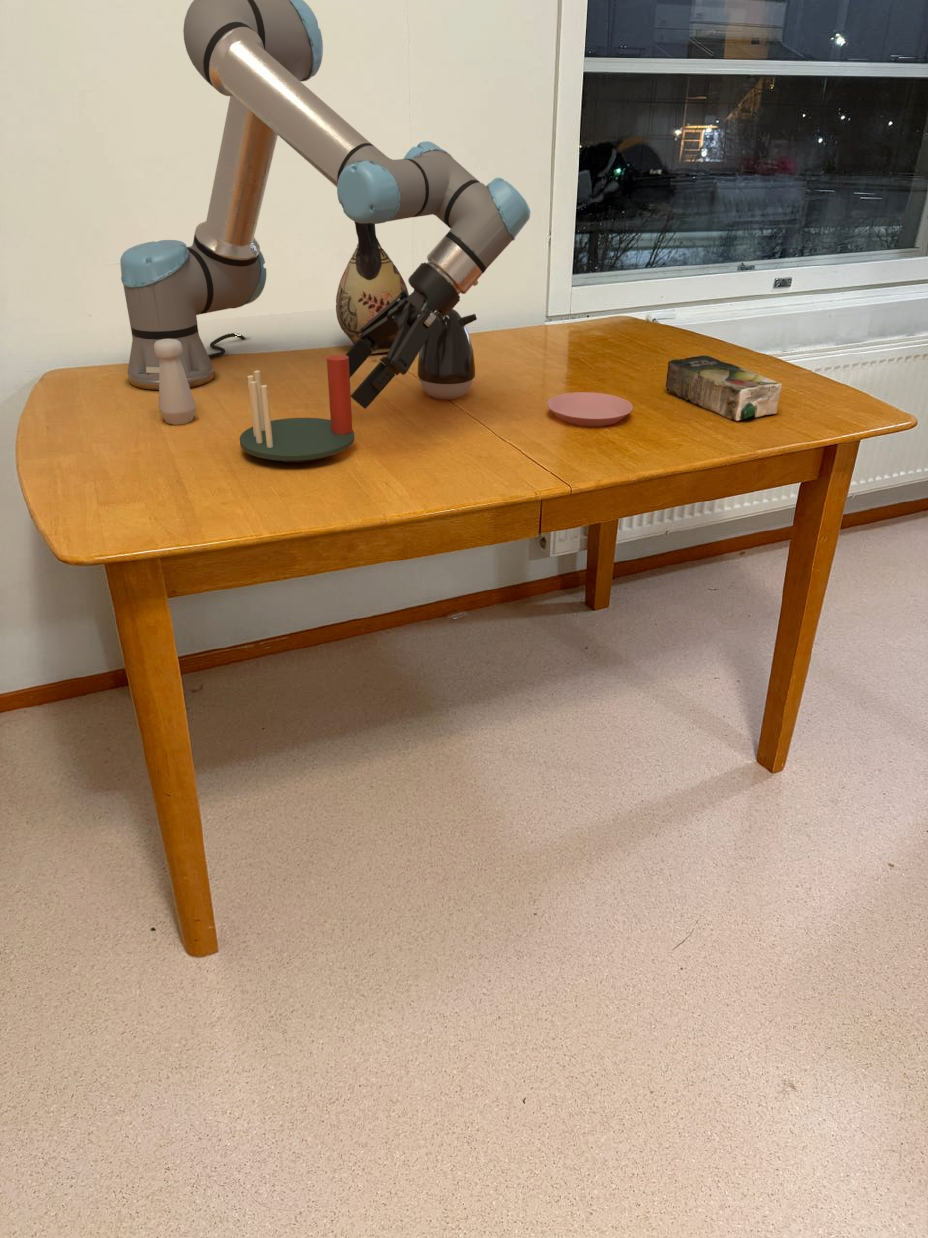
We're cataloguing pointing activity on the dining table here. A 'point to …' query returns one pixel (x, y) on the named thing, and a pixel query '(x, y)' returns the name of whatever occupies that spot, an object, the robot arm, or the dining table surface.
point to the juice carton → (723, 387)
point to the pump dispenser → (447, 358)
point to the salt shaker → (173, 384)
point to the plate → (589, 408)
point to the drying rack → (301, 422)
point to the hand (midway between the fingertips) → (347, 389)
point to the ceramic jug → (367, 286)
